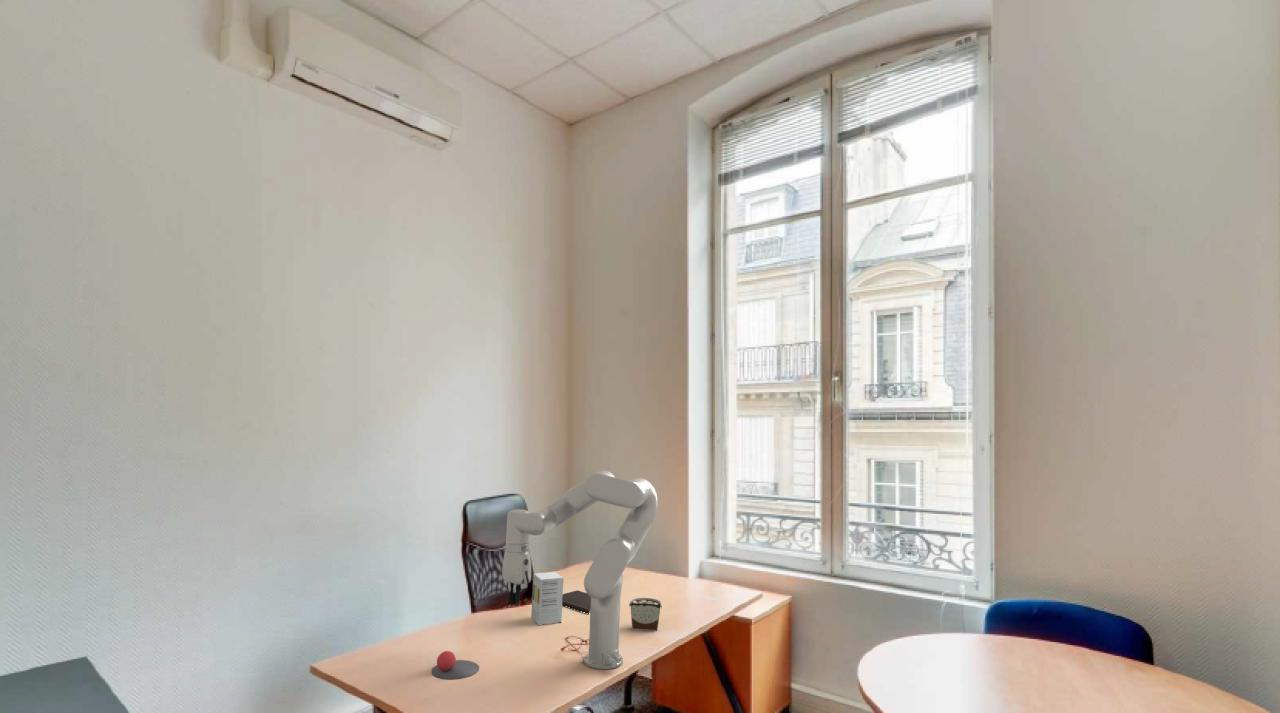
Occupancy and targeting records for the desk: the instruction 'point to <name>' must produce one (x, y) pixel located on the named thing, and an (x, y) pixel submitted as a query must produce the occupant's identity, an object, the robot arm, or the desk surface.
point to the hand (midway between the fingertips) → (514, 603)
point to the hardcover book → (577, 601)
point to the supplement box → (547, 598)
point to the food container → (645, 613)
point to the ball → (446, 661)
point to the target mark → (457, 670)
